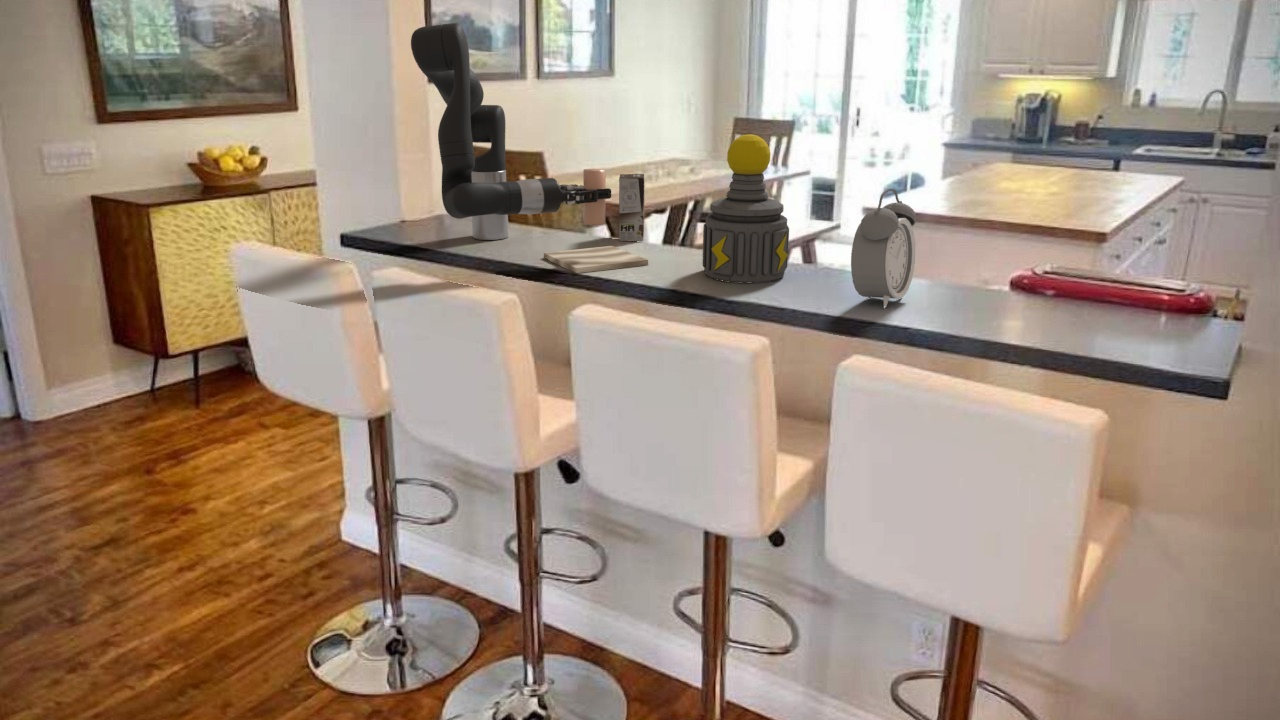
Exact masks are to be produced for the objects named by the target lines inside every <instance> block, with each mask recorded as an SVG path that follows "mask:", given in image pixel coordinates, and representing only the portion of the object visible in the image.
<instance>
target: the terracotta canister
mask: <svg viewBox="0 0 1280 720" xmlns="http://www.w3.org/2000/svg"><path fill="white" fill-rule="evenodd" d="M582 172H583V173H582V174H583V180H582V181H583V184H582V186H583V187H585V188H586V189H593V188H595V189H605V188H606V186H607V185H606V183H607V181H606V178H607V177H606V174H607V173H606V172H607V170H606V169H604V168H586V169H583V171H582ZM590 198H591V194H590ZM606 200H607V199H598V201H597V202H590V203H582V204H583V224H584V225H588V226H603V225H606V208H607V207H606Z"/></svg>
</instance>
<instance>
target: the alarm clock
mask: <svg viewBox="0 0 1280 720" xmlns="http://www.w3.org/2000/svg"><path fill="white" fill-rule="evenodd" d="M888 192H893V193H894V196H895V201H896V202H891V203H888V204H885V205H884V206H883V207H882V203H883V199H884V196H885V195H886V194H887V193H888ZM877 205H878V206H877V208H874V209H872V210H870V211H869V212H866V213H865V215H864V216H863V218H861V221H860V223H859V224H858V226H857V228H856V230H855V233H854V237H853V242H852V247H851V253H850V255H851V256H850V268H851V269H850V271H851V279H852V283H853V287H854V288H855V291H856V292H857V294H858V295H859V296H861V297H863V298H867V299H868V298H870V299H871V298H880V299H882V298H883V307H884V306H886V307H887V306H888V303H889V300H890V299H895V300H896V299H900V298H902V299H903V298H904V296H905V295H906V294H907V293H908V291H909V289H910V286H911V283H912V280H913V276H914V272H915V270H914V269H915V265H916V239H915V233H914V229H913V226H914V225H915V224H916V223H917V218H916V217H917V216H916V211H915V210H914V209H913V207H911V206H910V205H909V204H906V203H903V201H902V200H900V199H899V195H898V192H897V190H896V189H894V188H887V189H886V190H884V191H883V192H882V193H881V195H880V197H879V201H878V204H877Z"/></svg>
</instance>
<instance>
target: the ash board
mask: <svg viewBox="0 0 1280 720" xmlns="http://www.w3.org/2000/svg"><path fill="white" fill-rule="evenodd" d="M543 259H545V260H547V259H548V260H547V261H550V262H552V263H554V264H556V265H558V266H560V267H563V268H565V270H566V269H567V270H569V271H571V272H573V273H575V274H582V273H589V272H592V273H593V272H598V271H599V272H600V271H607V270H616V269H624V268H625V269H626V268H633V267H642V266H649V259H648V258H645V257H642V256H640V255H636V254H634V253H632V252H629V251H627V250H624V249H621V248H619V247H616V246H614V245H606V246H597V247H589V248H588V247H587V248H579V249H578V248H577V249H569V250H567V249H566V250H559V251H550V252H543Z"/></svg>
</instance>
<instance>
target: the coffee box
mask: <svg viewBox="0 0 1280 720" xmlns="http://www.w3.org/2000/svg"><path fill="white" fill-rule="evenodd" d="M618 178H619V179H618V183H619V184H618V188H619V190H618V194H619V195H618V199H619V201H618V204H619V205H618V209H619V210H618V211H619V212H618V213H619V214H618V218H619V219H618V223H619V226H618V230H619V231H618V237H619V238H618V239H619V241H620V242H644V237H645V236H644V235H645V174H644V173H627V174H626V173H621V174H620V175H619V177H618Z"/></svg>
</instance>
